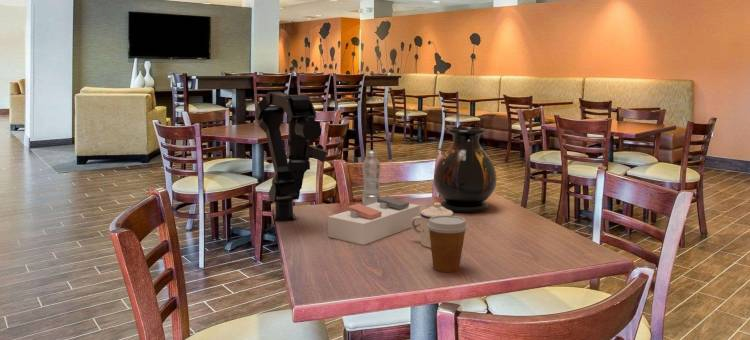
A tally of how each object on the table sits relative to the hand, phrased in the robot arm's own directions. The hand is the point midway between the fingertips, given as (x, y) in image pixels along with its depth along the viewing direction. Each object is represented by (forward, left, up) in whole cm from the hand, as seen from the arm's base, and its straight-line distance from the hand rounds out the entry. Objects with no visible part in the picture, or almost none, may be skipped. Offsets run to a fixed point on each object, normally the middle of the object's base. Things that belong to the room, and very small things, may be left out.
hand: (299, 189), depth 171 cm
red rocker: (+11, +18, -5) cm, 22 cm away
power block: (+6, +22, -12) cm, 26 cm away
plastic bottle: (-24, +25, -12) cm, 37 cm away
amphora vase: (-19, +57, -12) cm, 61 cm away
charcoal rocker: (+2, +28, -5) cm, 29 cm away
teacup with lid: (+21, +36, -12) cm, 43 cm away
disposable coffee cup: (+41, +35, -12) cm, 55 cm away
